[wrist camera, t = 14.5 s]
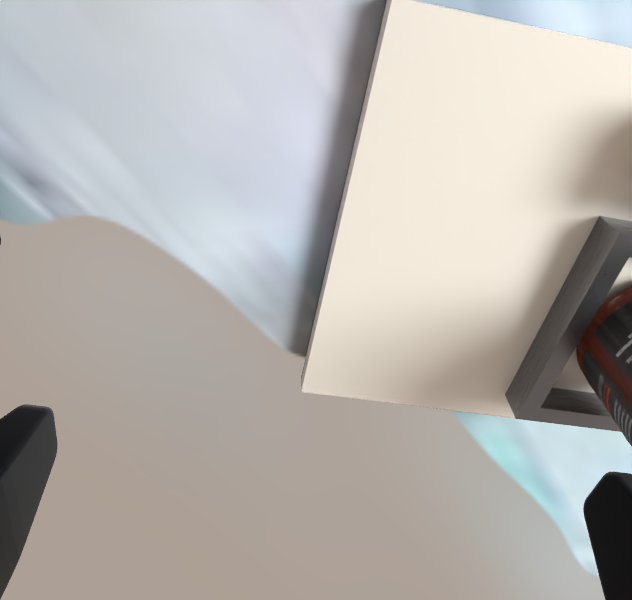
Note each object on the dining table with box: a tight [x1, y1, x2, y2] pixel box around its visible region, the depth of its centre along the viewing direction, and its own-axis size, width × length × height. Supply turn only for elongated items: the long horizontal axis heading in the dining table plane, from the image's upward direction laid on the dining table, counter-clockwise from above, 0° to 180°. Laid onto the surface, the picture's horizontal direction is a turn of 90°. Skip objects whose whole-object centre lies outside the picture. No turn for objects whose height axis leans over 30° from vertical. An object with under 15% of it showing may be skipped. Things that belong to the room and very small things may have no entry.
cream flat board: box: [301, 0, 632, 418], centre depth 21 cm, size 19×16×1 cm
